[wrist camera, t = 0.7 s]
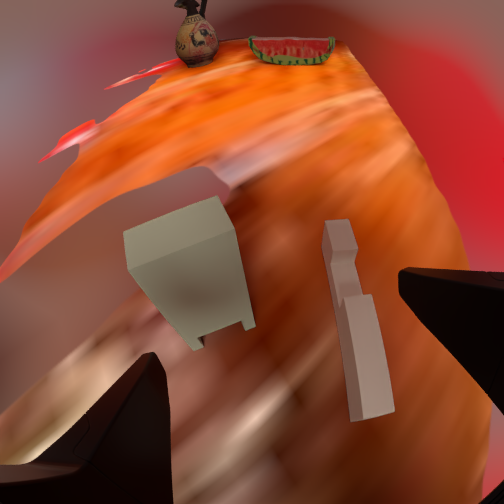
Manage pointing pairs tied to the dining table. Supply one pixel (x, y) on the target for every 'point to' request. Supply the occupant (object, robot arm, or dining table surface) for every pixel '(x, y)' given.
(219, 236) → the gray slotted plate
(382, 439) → the dining table surface
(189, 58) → the ceramic jug
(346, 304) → the white rectangular bar
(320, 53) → the fruit slice
